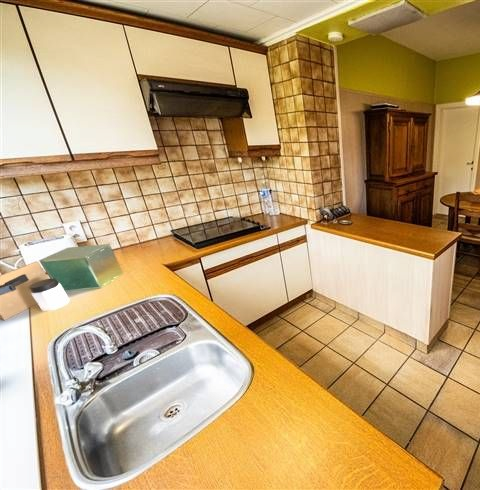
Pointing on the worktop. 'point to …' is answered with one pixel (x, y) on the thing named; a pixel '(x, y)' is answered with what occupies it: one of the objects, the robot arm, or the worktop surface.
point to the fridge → (83, 267)
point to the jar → (49, 294)
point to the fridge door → (20, 290)
